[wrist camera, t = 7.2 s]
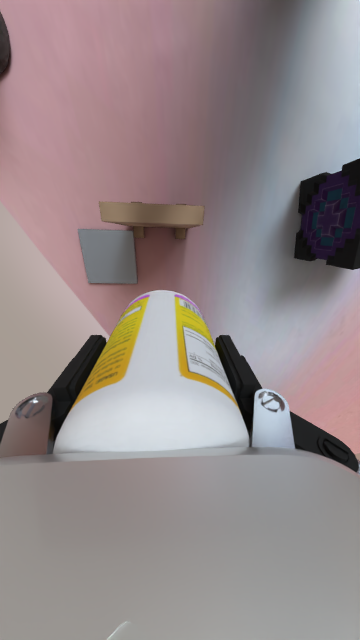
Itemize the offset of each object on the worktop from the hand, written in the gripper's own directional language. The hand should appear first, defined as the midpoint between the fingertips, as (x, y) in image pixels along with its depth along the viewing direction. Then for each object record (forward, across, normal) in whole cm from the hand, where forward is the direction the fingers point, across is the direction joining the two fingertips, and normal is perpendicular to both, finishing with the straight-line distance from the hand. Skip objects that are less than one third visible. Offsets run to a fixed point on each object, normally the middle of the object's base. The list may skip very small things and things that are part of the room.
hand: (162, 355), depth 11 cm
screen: (+25, +1, -8) cm, 26 cm away
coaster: (+25, +10, -2) cm, 27 cm away
